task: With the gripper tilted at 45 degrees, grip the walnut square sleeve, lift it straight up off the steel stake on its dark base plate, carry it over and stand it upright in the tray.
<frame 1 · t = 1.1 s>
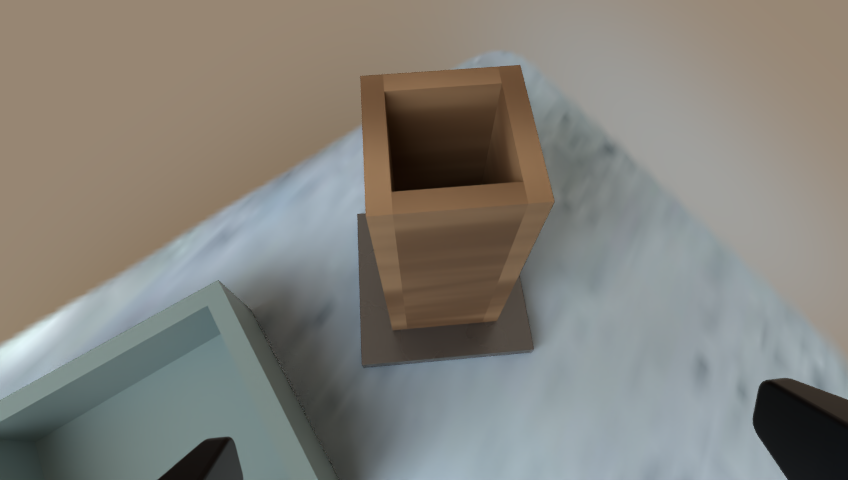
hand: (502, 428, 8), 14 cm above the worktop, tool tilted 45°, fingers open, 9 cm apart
tray: (187, 475, 20), on the worktop
sleeve: (439, 276, 23), point 1 cm above the worktop, touching stake base
stake base: (439, 281, 24), on the worktop
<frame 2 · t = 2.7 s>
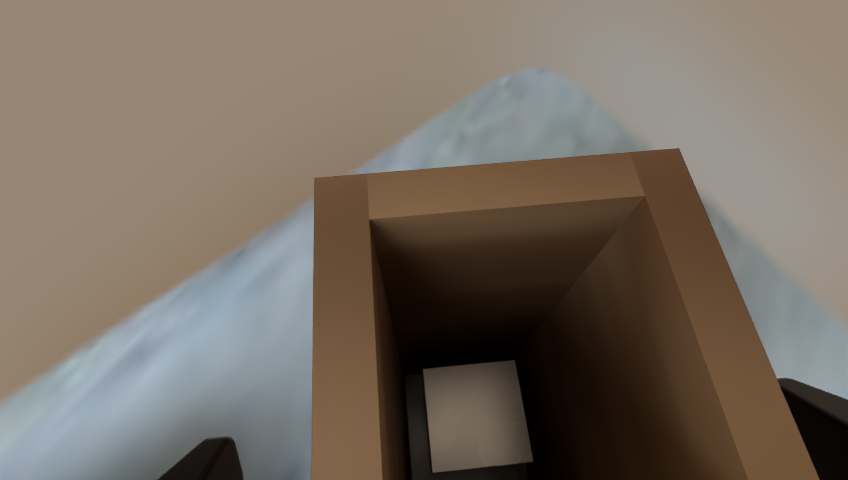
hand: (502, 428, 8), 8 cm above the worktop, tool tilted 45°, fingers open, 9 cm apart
sleeve: (463, 426, 15), point 1 cm above the worktop, touching stake base
stake base: (462, 428, 16), on the worktop
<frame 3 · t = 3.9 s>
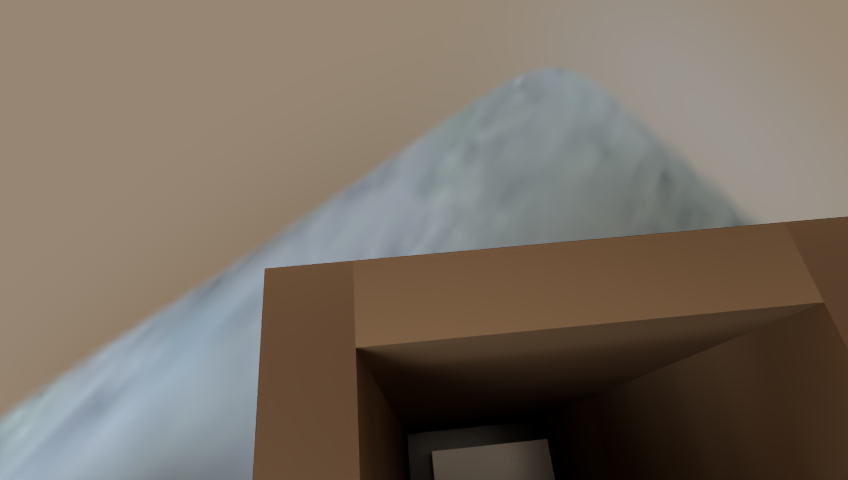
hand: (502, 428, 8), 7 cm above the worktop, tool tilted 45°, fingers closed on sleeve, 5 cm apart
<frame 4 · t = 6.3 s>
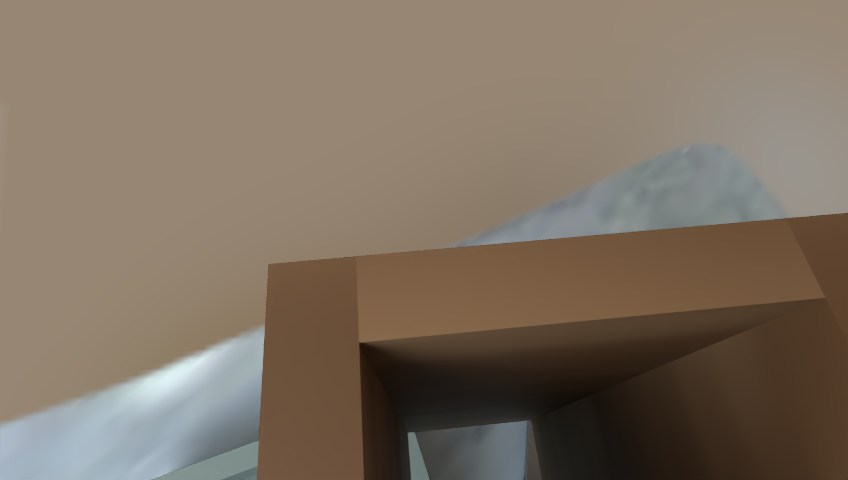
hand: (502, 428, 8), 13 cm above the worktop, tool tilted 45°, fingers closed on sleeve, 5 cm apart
stake base: (619, 420, 20), on the worktop
when the fingers open (8 cm above the worktop, at t = 8.5 s): sleeve drops 2 cm, resting on tray.
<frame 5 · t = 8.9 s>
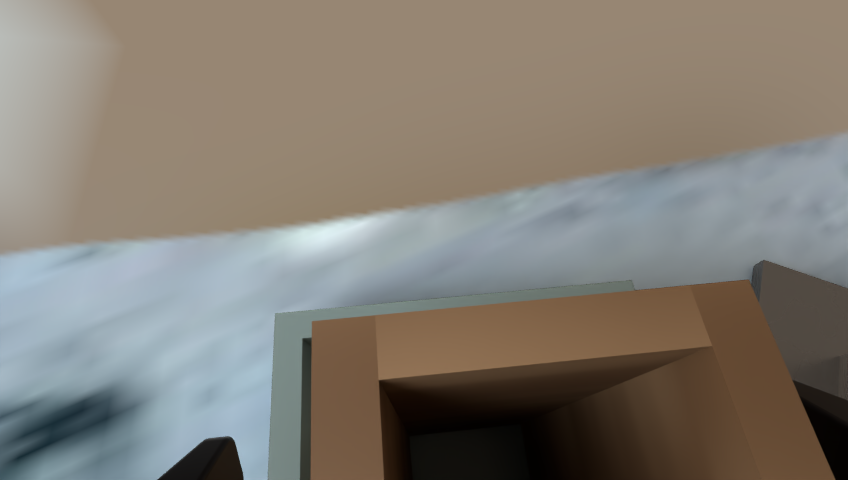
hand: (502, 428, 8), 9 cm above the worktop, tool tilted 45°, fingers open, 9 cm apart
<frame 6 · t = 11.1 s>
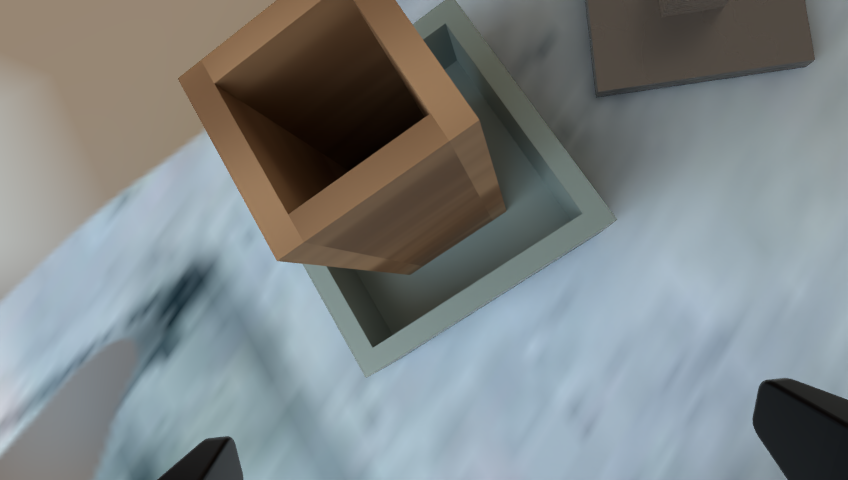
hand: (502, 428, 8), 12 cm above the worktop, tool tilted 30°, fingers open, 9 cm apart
tray: (431, 201, 21), on the worktop
sleeve: (427, 196, 20), point 1 cm above the worktop, touching tray
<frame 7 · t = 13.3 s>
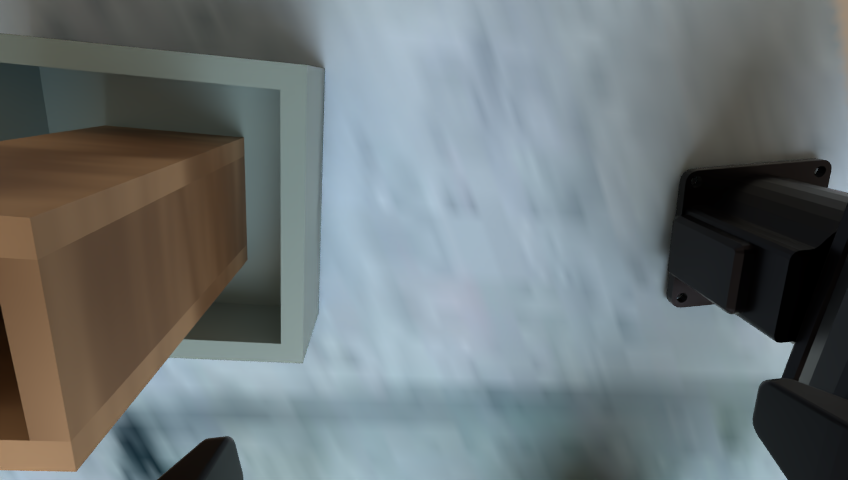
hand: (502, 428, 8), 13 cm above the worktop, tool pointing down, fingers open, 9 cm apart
tray: (191, 191, 19), on the worktop
sleeve: (180, 196, 18), point 1 cm above the worktop, touching tray
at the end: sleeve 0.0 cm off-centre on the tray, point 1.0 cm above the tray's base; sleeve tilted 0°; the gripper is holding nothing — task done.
